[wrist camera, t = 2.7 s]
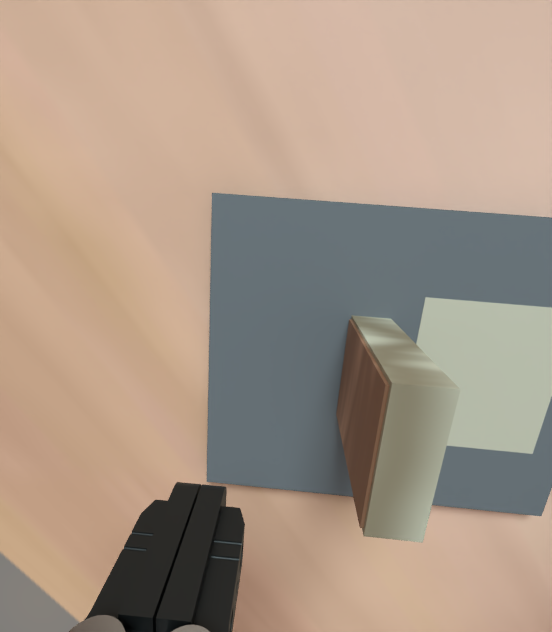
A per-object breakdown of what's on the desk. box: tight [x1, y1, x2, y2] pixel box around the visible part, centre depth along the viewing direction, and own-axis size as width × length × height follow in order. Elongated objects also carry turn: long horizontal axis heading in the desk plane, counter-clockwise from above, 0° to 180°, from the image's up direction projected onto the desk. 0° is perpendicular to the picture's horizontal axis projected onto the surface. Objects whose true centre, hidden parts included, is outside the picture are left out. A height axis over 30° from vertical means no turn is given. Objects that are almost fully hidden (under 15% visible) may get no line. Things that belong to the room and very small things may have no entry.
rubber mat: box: [207, 193, 552, 516], centre depth 22 cm, size 24×20×1 cm
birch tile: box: [336, 315, 461, 542], centre depth 17 cm, size 3×7×9 cm, turn 176°
